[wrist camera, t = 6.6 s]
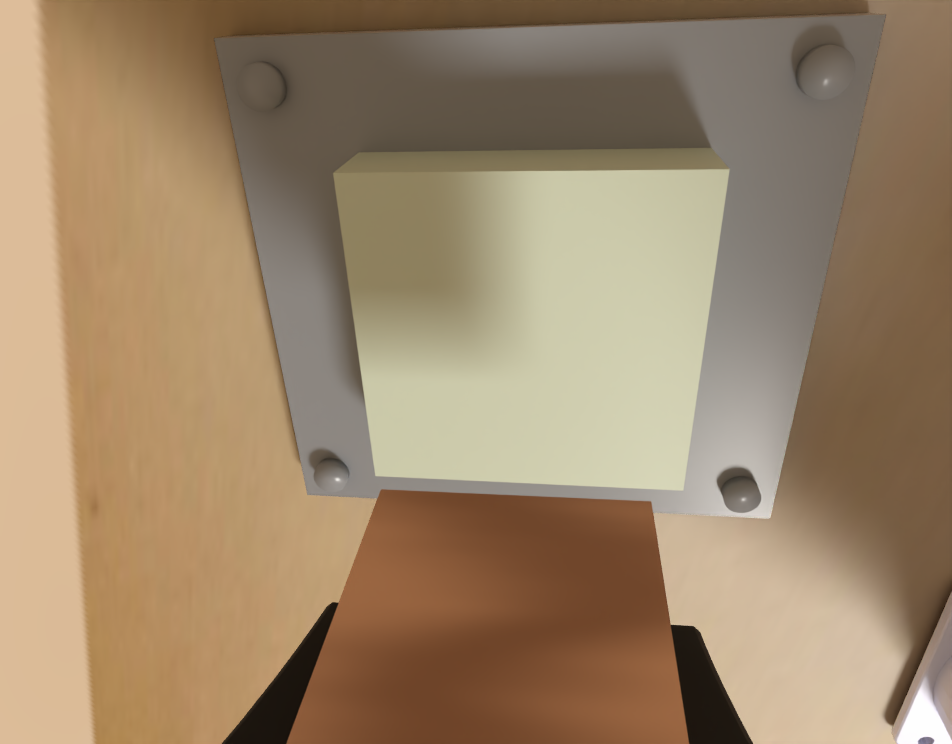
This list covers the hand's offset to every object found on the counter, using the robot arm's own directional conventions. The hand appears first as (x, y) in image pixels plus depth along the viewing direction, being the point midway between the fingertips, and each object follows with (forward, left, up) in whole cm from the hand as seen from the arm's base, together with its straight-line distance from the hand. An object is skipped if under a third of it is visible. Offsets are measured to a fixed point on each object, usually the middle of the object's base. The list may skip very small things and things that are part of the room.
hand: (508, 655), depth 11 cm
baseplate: (0, -2, -9) cm, 10 cm away
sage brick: (0, -2, -9) cm, 10 cm away
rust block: (0, 0, -2) cm, 2 cm away
